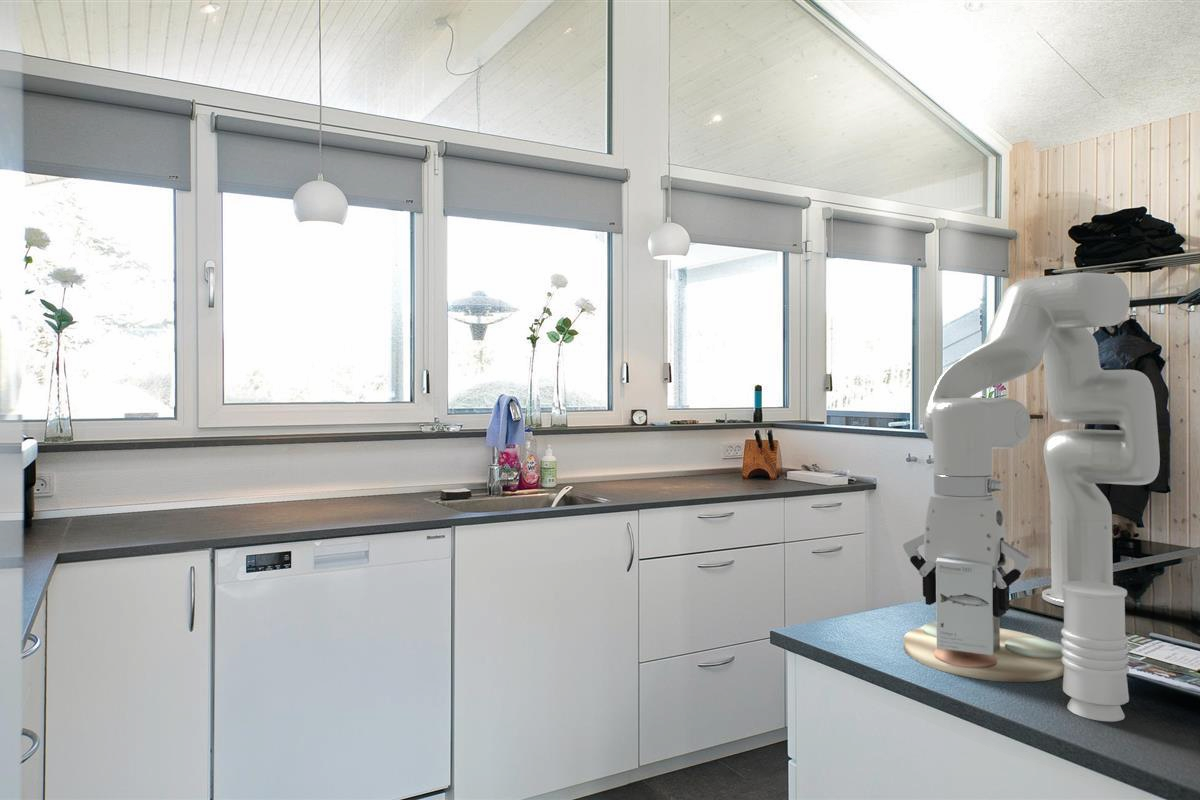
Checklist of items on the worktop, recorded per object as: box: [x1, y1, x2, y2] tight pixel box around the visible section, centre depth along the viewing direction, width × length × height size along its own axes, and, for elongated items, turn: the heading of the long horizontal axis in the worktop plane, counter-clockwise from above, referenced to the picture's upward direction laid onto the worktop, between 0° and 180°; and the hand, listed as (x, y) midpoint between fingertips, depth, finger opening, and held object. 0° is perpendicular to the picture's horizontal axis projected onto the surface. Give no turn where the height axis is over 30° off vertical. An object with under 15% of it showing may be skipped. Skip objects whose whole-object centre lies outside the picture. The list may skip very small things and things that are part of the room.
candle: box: [1060, 581, 1130, 722], centre depth 93 cm, size 7×7×15 cm
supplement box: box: [935, 557, 995, 656], centre depth 109 cm, size 7×7×13 cm
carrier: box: [903, 616, 1064, 683], centre depth 113 cm, size 22×22×8 cm
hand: (964, 608), depth 109 cm, fingers closed on supplement box, 8 cm apart
